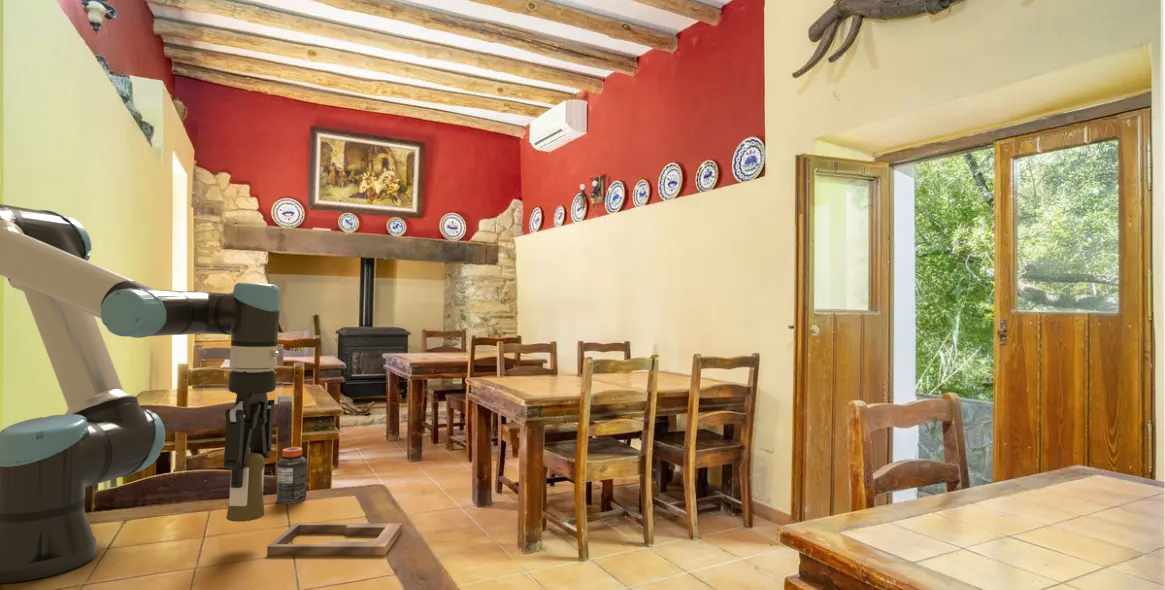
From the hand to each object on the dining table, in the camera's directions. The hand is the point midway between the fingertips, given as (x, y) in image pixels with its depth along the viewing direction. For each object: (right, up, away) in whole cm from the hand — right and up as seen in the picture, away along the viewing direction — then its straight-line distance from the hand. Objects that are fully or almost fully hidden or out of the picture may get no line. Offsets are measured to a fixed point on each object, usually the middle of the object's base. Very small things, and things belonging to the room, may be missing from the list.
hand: (246, 499), depth 114 cm
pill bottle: (-4, -9, +28) cm, 29 cm away
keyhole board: (+16, -8, +2) cm, 18 cm away
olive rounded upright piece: (0, -3, 0) cm, 3 cm away
